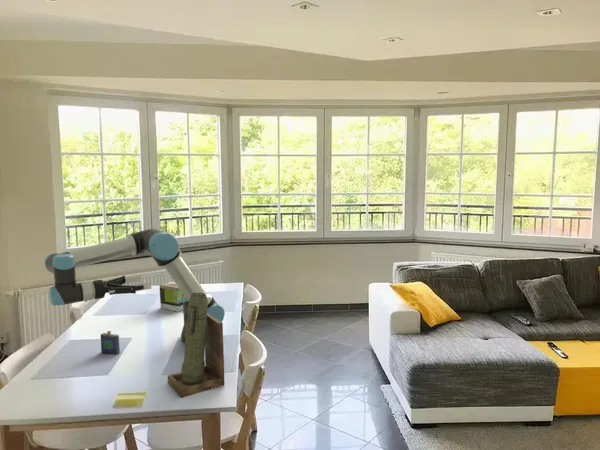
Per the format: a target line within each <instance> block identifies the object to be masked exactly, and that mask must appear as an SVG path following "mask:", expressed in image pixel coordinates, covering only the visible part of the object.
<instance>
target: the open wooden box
mask: <svg viewBox="0 0 600 450" xmlns="http://www.w3.org/2000/svg"><path fill="white" fill-rule="evenodd" d="M206 317H207V323H208V327H207V337H206V339H205V351H204V361H205V369H204V375H203V381H202V382H200V383H196V384H189V383H184V382H183V381H182V371H181V372H177V373H172V374H169V375H167V384H168V385H169V386H170V387H171V389H172V390H173V391H174V392H175V393H176V395H178V396H179V398H180V399H182V398H185V397H189V396H194V395H197V394H199V393H204V392H206V391H210V390H212V388H213V389H216V388H215V387H217V388H219V387H218V386H220V387H222V386H221V385H223V386H225V385H224V384H225V383H226V382H225V357H224V353H225V352H224V326H223V324H224V323H223V321H222V322H221V321H219V320H218V319H216V318H215V317H213V316H212V315H210V314H208V313H207V314H206Z"/></svg>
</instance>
